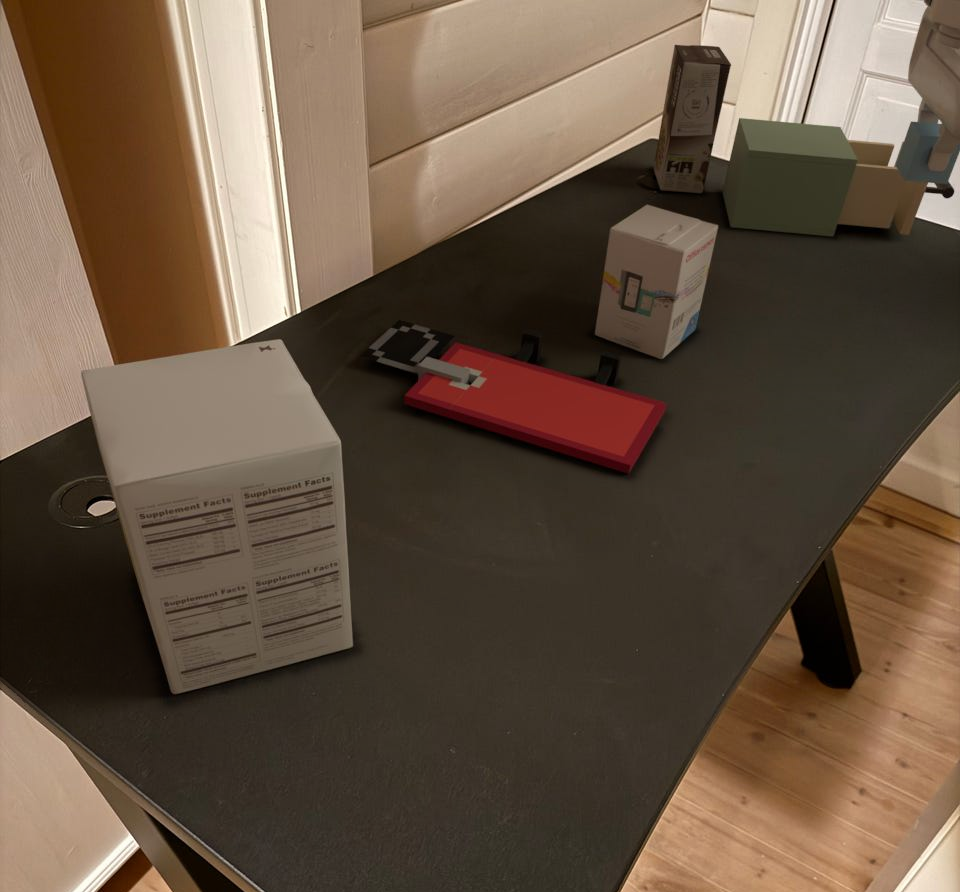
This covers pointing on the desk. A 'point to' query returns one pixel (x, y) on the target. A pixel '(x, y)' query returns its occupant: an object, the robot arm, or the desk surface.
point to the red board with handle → (523, 395)
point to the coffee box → (690, 117)
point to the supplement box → (227, 508)
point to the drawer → (883, 190)
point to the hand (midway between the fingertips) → (927, 158)
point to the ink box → (654, 280)
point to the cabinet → (788, 177)
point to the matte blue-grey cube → (922, 154)
